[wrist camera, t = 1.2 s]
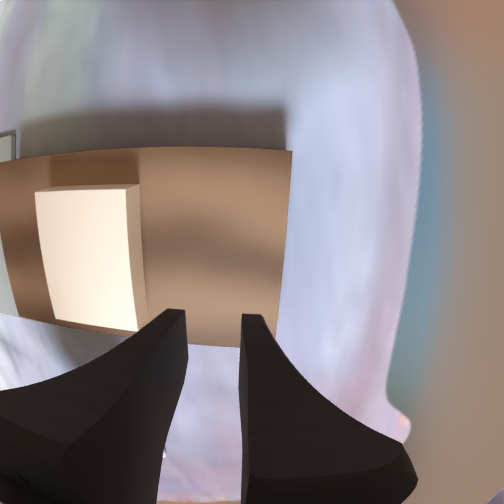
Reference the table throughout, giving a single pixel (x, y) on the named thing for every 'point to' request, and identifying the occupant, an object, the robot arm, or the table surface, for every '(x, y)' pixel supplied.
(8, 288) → the mat
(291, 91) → the table surface
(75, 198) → the tile
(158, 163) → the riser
